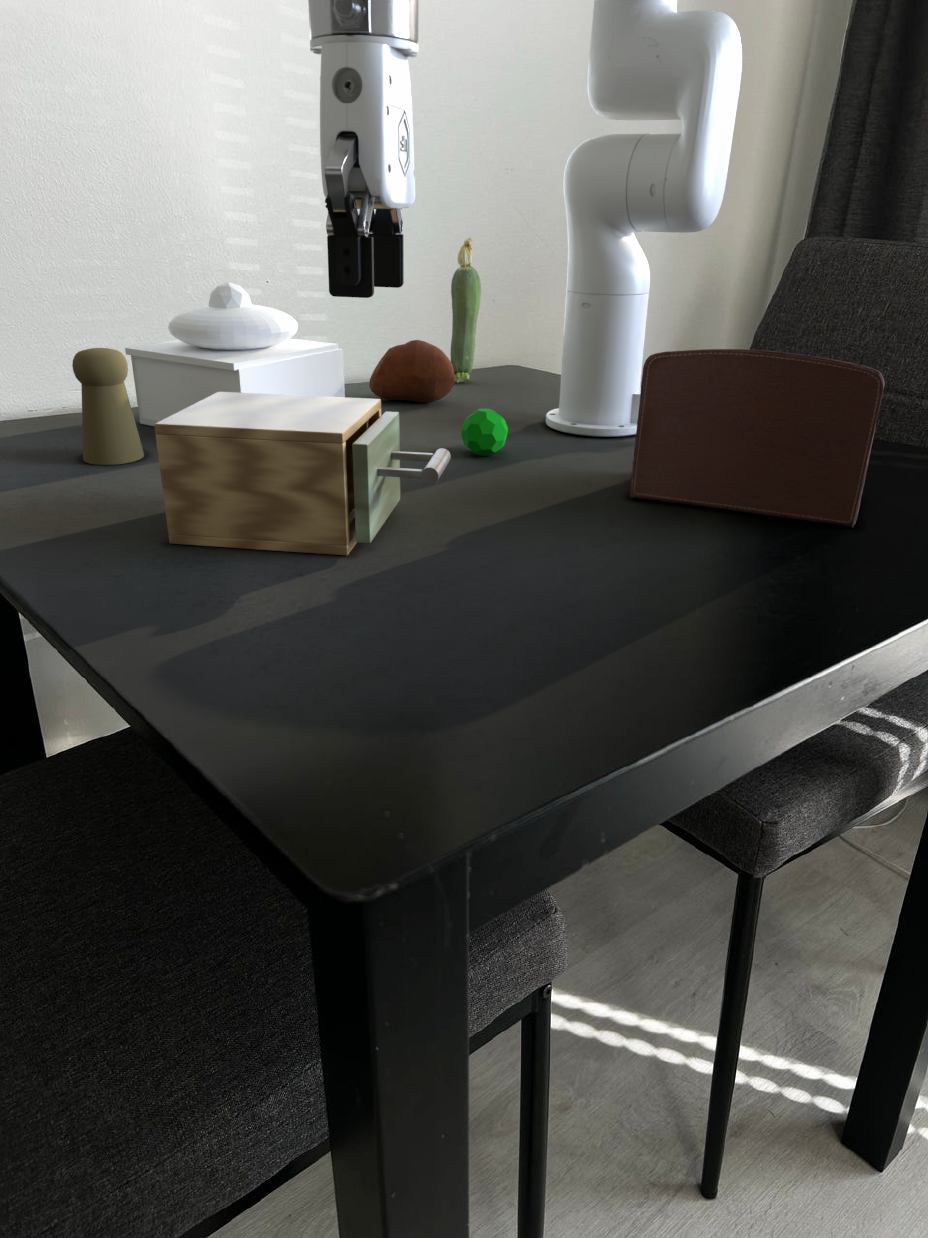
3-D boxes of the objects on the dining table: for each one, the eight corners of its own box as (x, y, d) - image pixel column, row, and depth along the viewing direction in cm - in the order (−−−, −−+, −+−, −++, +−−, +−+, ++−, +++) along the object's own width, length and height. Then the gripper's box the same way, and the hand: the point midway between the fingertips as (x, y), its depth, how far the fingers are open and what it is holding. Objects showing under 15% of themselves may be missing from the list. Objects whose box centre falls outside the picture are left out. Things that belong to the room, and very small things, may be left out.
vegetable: (449, 378, 139) (450, 236, 130) (477, 378, 139) (480, 236, 130) (451, 384, 135) (452, 237, 126) (480, 384, 135) (483, 238, 126)
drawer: (455, 502, 80) (456, 414, 77) (432, 547, 70) (432, 447, 67) (254, 490, 83) (247, 404, 79) (204, 532, 72) (193, 435, 69)
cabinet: (383, 506, 82) (381, 398, 78) (347, 555, 71) (342, 433, 67) (228, 496, 84) (218, 391, 80) (169, 543, 73) (153, 423, 69)
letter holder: (855, 528, 78) (890, 360, 73) (627, 499, 85) (642, 343, 79) (855, 496, 87) (887, 344, 81) (648, 472, 93) (663, 329, 87)
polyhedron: (454, 450, 100) (454, 406, 98) (494, 446, 102) (496, 403, 100) (472, 461, 96) (473, 416, 94) (514, 457, 98) (516, 413, 96)
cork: (125, 466, 92) (108, 354, 88) (71, 462, 93) (52, 351, 89) (154, 451, 98) (141, 345, 93) (103, 448, 99) (87, 343, 94)
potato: (373, 393, 128) (372, 334, 124) (455, 395, 127) (456, 336, 124) (366, 405, 121) (364, 342, 117) (453, 407, 120) (454, 344, 117)
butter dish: (345, 416, 114) (340, 281, 108) (242, 445, 101) (228, 293, 94) (244, 399, 123) (233, 273, 116) (135, 423, 109) (115, 282, 102)
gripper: (388, 2, 55) (390, 303, 62) (440, 49, 70) (437, 285, 77) (268, 2, 56) (284, 299, 63) (345, 48, 71) (351, 281, 78)
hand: (368, 291), depth 70 cm, fingers open, 9 cm apart
